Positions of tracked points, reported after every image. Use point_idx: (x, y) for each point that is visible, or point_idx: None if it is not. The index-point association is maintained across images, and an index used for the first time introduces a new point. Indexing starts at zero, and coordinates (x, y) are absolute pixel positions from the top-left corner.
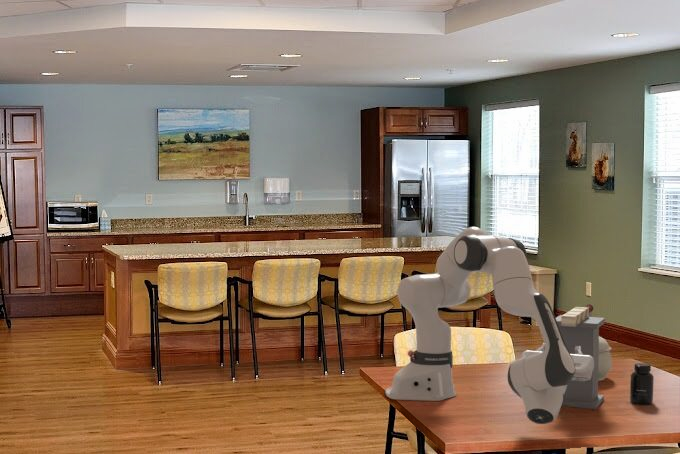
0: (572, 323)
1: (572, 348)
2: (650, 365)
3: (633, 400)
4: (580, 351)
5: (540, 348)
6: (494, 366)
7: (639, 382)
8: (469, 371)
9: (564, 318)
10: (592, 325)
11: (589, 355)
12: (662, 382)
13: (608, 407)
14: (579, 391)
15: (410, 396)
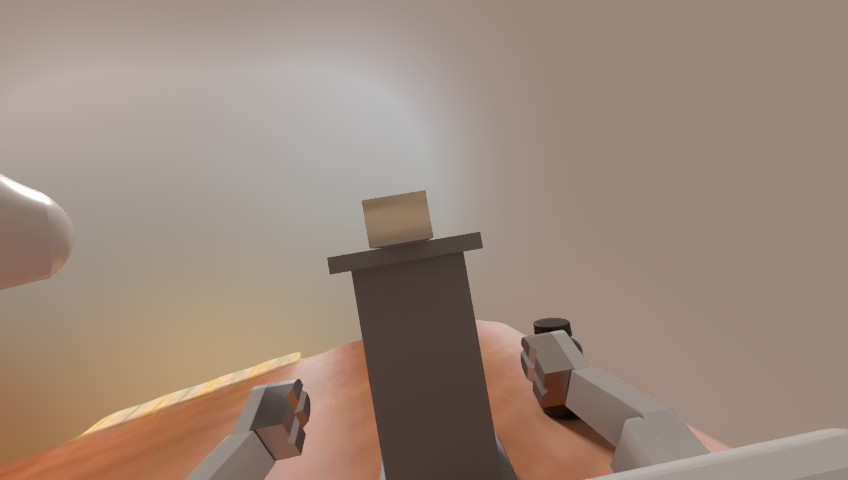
0: (419, 224)
1: (412, 332)
2: (567, 320)
3: (559, 412)
4: (621, 385)
5: (208, 472)
6: (272, 376)
7: None
8: (216, 407)
9: (378, 209)
10: (465, 240)
11: (835, 431)
12: (506, 335)
13: (542, 476)
14: (458, 463)
15: None
